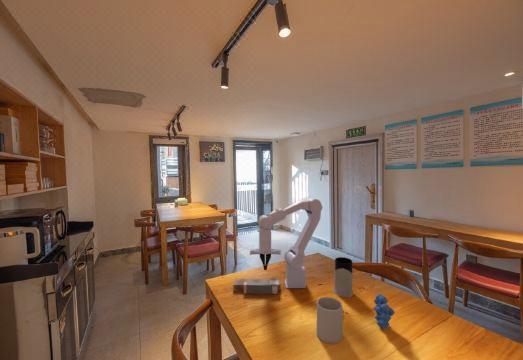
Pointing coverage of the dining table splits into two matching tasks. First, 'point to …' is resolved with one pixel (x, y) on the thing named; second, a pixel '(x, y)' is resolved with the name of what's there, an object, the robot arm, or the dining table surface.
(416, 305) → the dining table surface
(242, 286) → the rail
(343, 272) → the glass holder
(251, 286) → the stool leg
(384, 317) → the grapes
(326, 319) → the mug
